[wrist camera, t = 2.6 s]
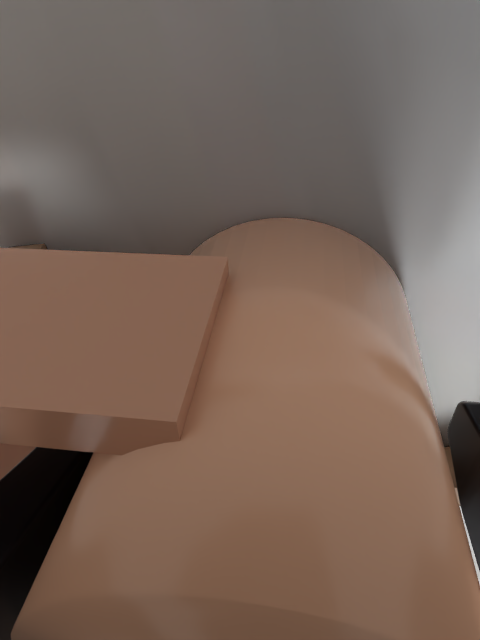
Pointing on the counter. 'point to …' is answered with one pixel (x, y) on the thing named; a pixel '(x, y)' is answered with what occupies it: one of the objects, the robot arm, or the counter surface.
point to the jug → (233, 443)
